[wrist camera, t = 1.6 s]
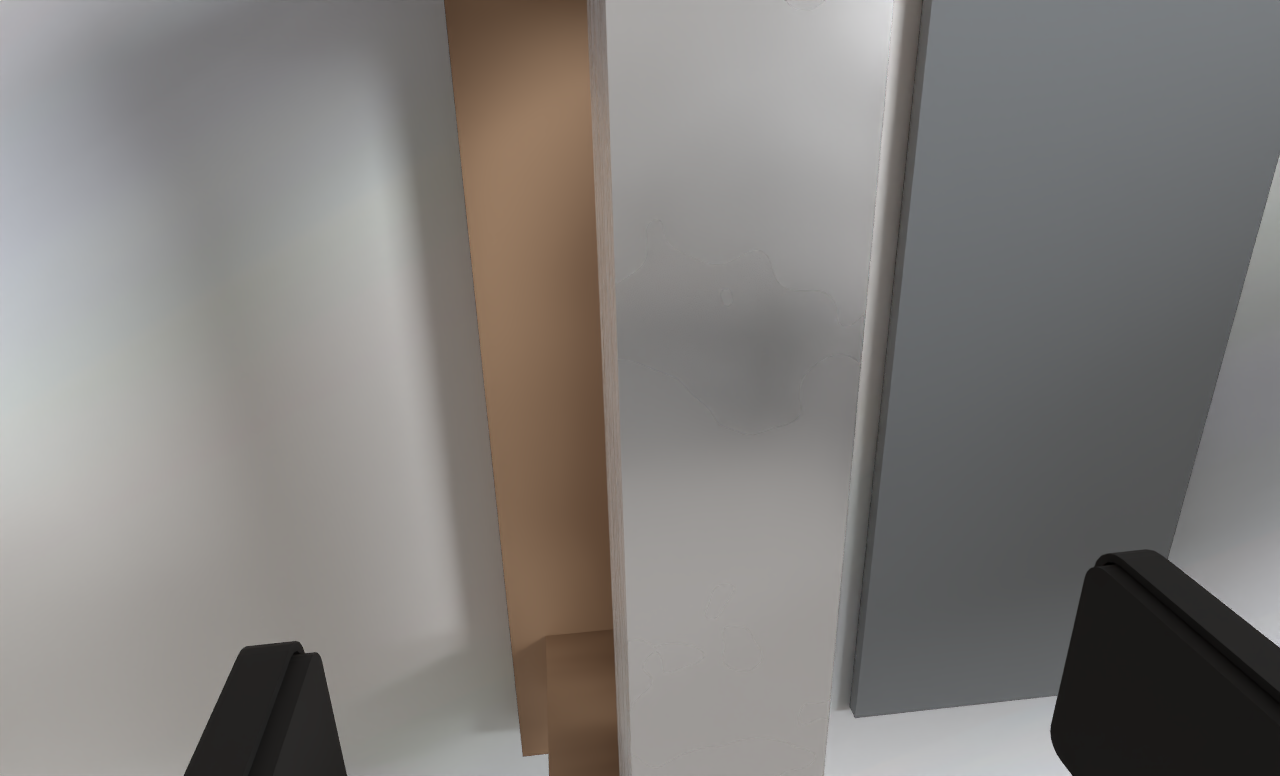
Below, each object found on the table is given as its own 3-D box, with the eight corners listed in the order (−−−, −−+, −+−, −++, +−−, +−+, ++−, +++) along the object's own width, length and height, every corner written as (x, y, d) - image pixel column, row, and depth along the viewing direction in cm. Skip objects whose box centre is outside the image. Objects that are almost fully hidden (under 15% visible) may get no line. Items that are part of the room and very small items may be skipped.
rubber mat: (1389, -317, 18) (1412, -327, 18) (1122, 677, 29) (1131, 687, 29) (956, -328, 17) (968, -338, 17) (849, 706, 28) (855, 718, 28)
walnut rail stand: (813, -270, 17) (1206, -704, 7) (765, 693, 27) (898, 1068, 17) (422, -277, 16) (250, -772, 6) (523, 719, 27) (518, 1128, 17)
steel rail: (828, -420, 9) (949, -607, 7) (756, 940, 19) (794, 1092, 16) (568, -431, 9) (583, -632, 6) (627, 957, 19) (643, 1116, 16)
